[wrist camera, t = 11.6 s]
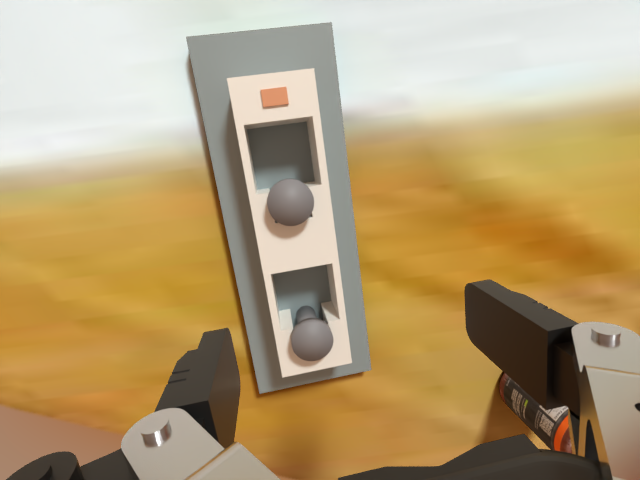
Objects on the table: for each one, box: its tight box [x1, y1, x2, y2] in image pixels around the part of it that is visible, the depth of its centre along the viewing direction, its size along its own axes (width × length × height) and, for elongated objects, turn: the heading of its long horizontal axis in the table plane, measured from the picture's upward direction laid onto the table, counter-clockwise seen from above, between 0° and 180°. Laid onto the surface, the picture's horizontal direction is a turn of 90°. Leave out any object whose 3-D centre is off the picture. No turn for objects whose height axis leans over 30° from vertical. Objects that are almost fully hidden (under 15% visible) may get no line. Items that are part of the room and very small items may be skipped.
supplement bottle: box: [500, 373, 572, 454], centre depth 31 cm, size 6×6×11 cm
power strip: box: [227, 68, 352, 378], centre depth 26 cm, size 5×21×4 cm, turn 8°
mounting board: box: [186, 22, 371, 394], centre depth 26 cm, size 10×28×6 cm, turn 8°
